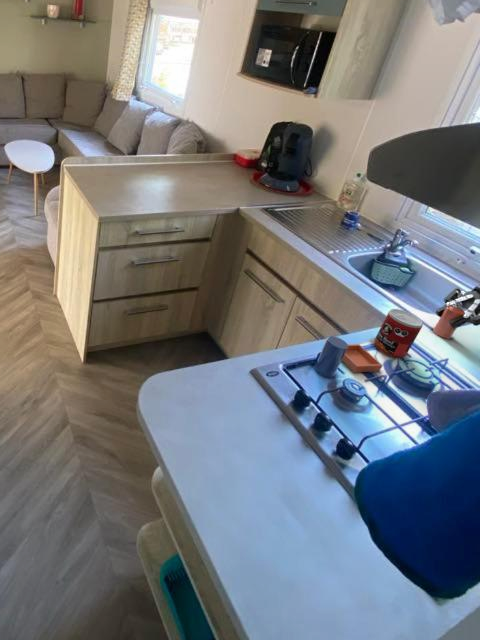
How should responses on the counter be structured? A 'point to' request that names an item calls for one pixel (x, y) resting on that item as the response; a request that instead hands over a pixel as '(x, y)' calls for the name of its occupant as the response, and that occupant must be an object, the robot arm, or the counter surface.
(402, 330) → the canned food
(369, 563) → the counter surface
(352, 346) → the terracotta tray
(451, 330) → the cylinder
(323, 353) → the cylinder
